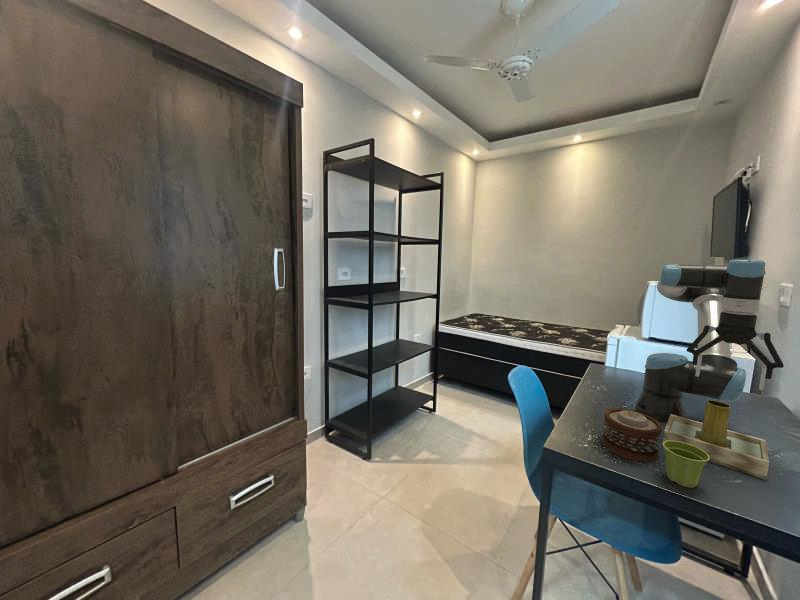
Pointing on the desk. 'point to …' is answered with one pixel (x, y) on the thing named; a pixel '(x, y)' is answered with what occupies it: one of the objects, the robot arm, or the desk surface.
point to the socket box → (737, 455)
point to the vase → (715, 423)
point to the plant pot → (684, 462)
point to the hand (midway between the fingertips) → (727, 381)
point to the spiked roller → (632, 434)
